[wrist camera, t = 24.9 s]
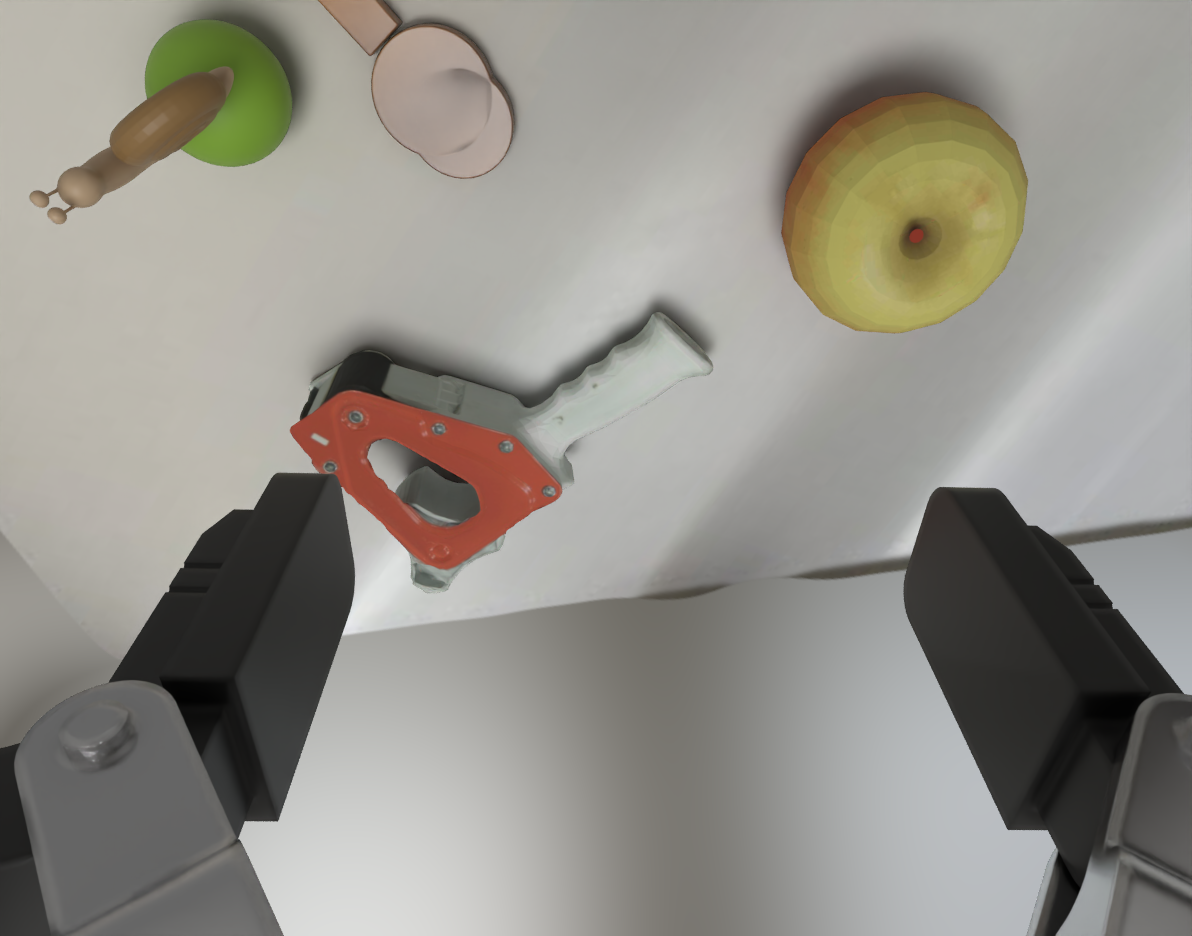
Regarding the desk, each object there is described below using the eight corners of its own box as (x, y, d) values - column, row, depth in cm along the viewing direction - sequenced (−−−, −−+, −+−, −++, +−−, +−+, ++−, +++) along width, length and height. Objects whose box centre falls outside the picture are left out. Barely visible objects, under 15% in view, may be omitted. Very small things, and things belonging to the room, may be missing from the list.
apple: (792, 69, 35) (841, 102, 29) (1010, 87, 36) (1108, 123, 29) (751, 286, 41) (784, 356, 34) (942, 299, 41) (1010, 370, 35)
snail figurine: (136, 82, 35) (-40, 143, 25) (238, -16, 33) (91, 7, 23) (234, 187, 38) (108, 280, 28) (334, 101, 36) (238, 168, 26)
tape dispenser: (712, 307, 43) (319, 229, 39) (736, 347, 39) (294, 263, 35) (630, 568, 52) (301, 526, 48) (642, 626, 47) (279, 584, 43)
